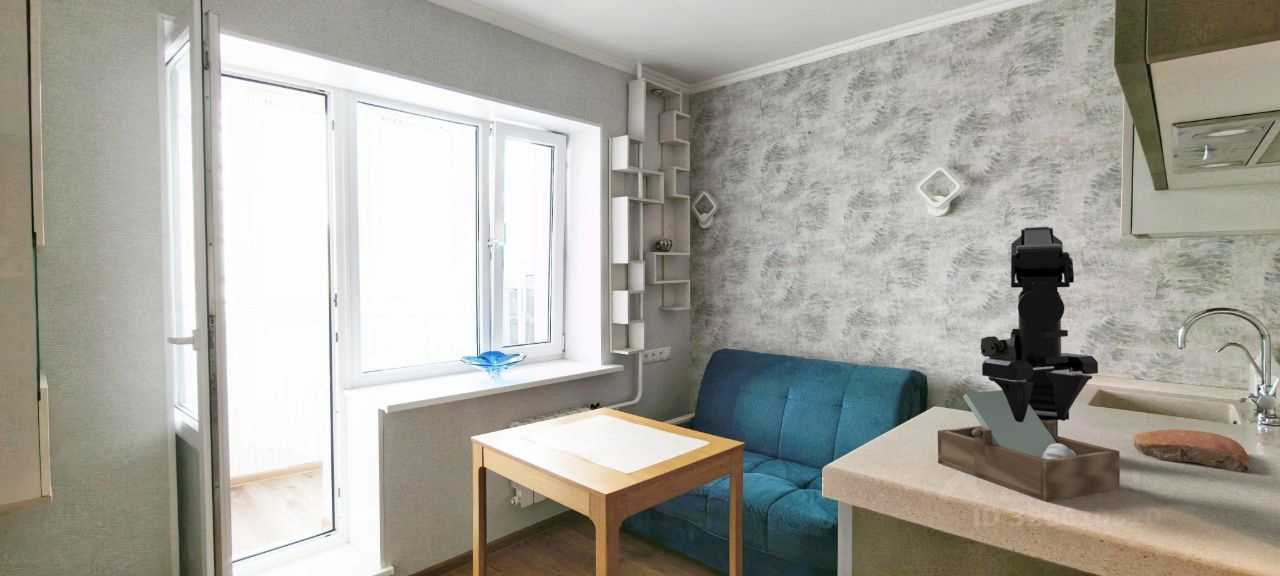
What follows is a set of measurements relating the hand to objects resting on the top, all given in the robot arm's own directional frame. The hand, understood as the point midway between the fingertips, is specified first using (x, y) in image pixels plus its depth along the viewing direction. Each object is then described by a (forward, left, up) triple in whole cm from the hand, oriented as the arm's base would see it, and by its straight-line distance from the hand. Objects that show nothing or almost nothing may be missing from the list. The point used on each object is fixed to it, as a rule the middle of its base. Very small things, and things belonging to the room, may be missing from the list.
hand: (1040, 419), depth 96 cm
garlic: (0, 0, -6) cm, 6 cm away
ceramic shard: (-37, -1, -11) cm, 39 cm away
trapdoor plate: (0, -5, -3) cm, 6 cm away
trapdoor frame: (0, -3, -10) cm, 10 cm away
